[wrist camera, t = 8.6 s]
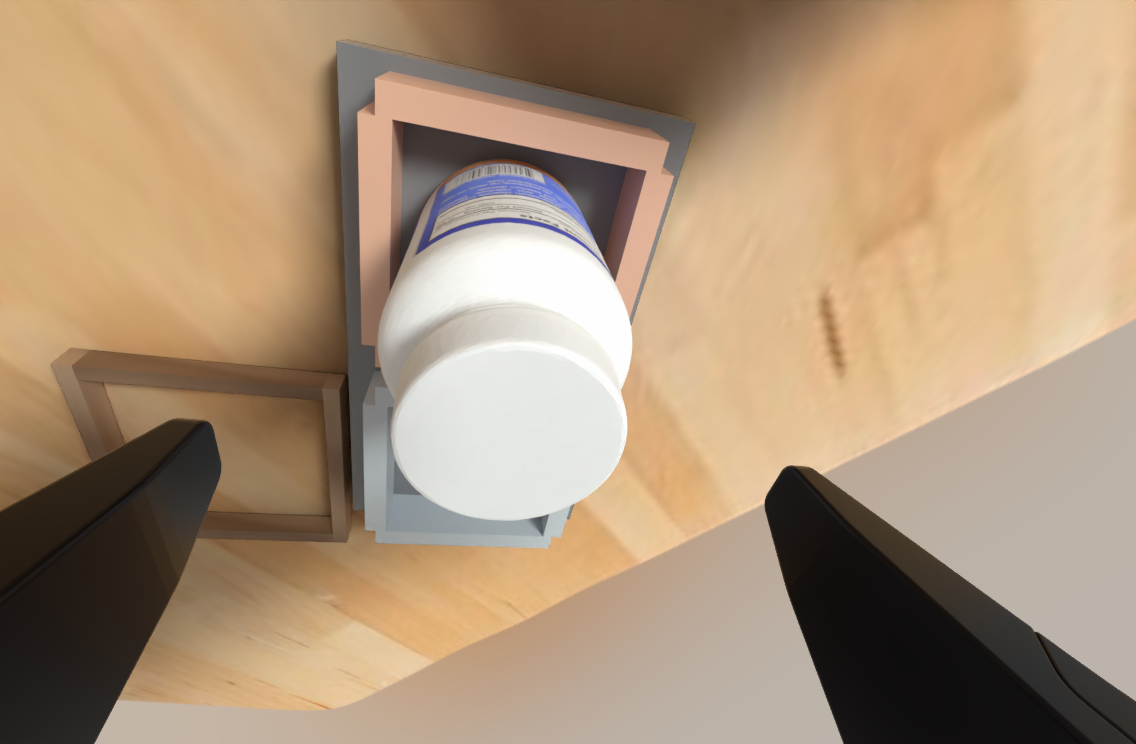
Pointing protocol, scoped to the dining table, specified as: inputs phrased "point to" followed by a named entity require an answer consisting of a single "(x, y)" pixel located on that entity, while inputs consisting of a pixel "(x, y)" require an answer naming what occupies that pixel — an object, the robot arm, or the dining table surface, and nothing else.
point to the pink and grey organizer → (404, 185)
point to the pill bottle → (505, 348)
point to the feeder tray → (102, 434)
